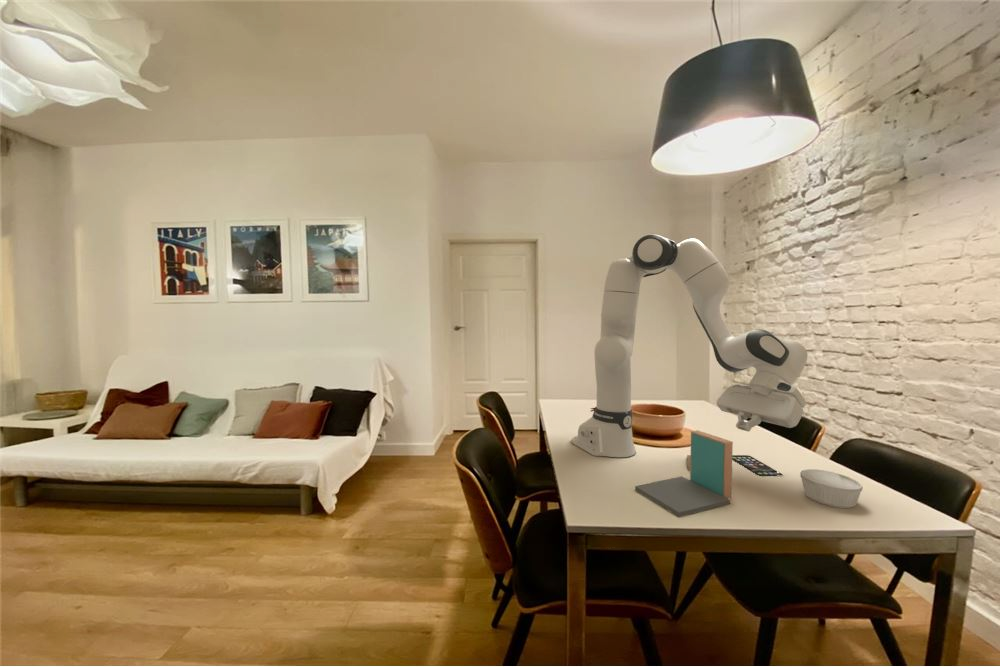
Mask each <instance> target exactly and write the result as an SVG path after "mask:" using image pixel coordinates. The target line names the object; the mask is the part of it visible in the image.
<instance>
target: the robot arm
mask: <svg viewBox="0 0 1000 667" xmlns="http://www.w3.org/2000/svg"><path fill="white" fill-rule="evenodd" d="M676 242H677V241H674V240H671V239H669V238H666V237H664V236H662V235H659V234H656V233H655V234H651V233H650V234H646V235H644V236H642V237H640V238H639V239H638V240H637V241H636V242H635V244H634V246H633V248H632V253H631V256H630V257H627V258H626V257H625V258H618V259H616V260H614V261H612V262H611V263H610V264H609V267H608V271H607V274H606V277H605V282H604V287H603V295H602V306H601V313H600V319H601V320H600V322H601V323H600V339H599V340H598V341H597V342H596V344H595V347H594V350H593V352H594V369H595V372H594V373H595V381H596V406H595V407H591V408H590V412H593V413H592V417H590V418H587V420H586V421H584V422H582V423H581V424H580V425H579V426H578V430H577V435H576V436H573V437H572V438H571V439H570V443H572V444H574V445H575V446H577V447H578V448H580V449H582V450H583V451H585V452H587V453H588V454H590V455H592V456H595V457H607V458H609V457H610V458H628V457H633V456H634V455H635V454H636V451H637V450H636V448H635V444H634V438H633V429H632V424H633V409H632V380H631V379H632V377H631V372H632V371H631V357H632V355H633V352H634V342H635V332H636V331H635V330H636V319H637V312H638V311H637V310H638V304H639V303H638V302H639V295H640V287H641V282H642V279H643V278H646V277H651V276H655V275H659V274H661V273H663V272H665V271H666V270H670V271H673V272H674V273H676V275H677V276H678V277H679V279H680V280H681V282H682V283H683V285H684V286H685V287H686V289H687V291H688V294H689V295H690V298H691V302H692V307H693V310H694V313H695V315H696V317H697V319H698V320H699V323H700V325H701V327H702V328H703V330H704V332H705V334H706V336H707V338H708V340H709V342H710V343H711V346H712V350H713V353H714V356H715V359H716V362H717V364H719V366H721V367H722V368H723V369H724V370H726V371H728V372H732V373H739V372H742V371H745V370H746V369H749V368H755V369H756V372H755V374H754V375H753V376H752V378H751V380H750V381H749V383H748V384H747V385H741V384H734V385H731V386H729V387H727V389H725V390H724V391H723V393H722V394H721V395H720V396H719V397H718V398H717V400H716V406H717V407H718V408H719V410H720V411H722V412H724V413H727V414H728V413H729V414H732V415H736V416H737V422H736V424H735V427H736V428H737V430H742V431H746V432H750V431H751V430H752V428H754V427H756V426H757V425H760V424H761V422H765V423H767V424H768V423H769V424H773V425H777V426H781V427H785V428H789V429H791V428H794V427H796V426H797V425H798V424H799V422H800V420H801V418H802V417H803V414H804V409H803V408H805V406H806V405H807V401H806V399H805V398H804V395H803V394H802V393H801V391H800V390H799V389H798V388H797V387H796V386H795V385H793V384H794V382H795V381H797V380H798V378H799V377H800V376H801V374H802V372H803V370H804V368H805V367H806V364H807V361H808V350H807V348H806V347H805V346H804V345H803V344H802V343H800V342H799V341H796V340H794V339H790V338H780V337H778V336H775V335H774V334H773V333H772V332H770V331H768V330H767V329H762V328H758V329H753V330H750V331H747V332H744V333H742V334H740V335H737V336H734V335H733V334H732V333H731V331H730V329H729V328H728V325H727V324H726V322H725V320H724V318H723V316H722V314H721V311H720V306H721V303H722V300H723V298H724V297H725V295H726V293H727V292H728V290H729V286H730V277H729V274H728V272H727V270H726V269H725V268H724V266H723V264H722V263H721V261H719V259H718V257H716V255H715V254H714V253H713V252H712V251H711V250H710V249H709V247H707V246H706V245H705V244H704V243H703V242H702V241H700V240H699V239H697V238H688V239H685V240H682V241H681V242H679V243H676ZM748 419H749V420H748ZM746 420H747V421H746Z"/></svg>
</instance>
